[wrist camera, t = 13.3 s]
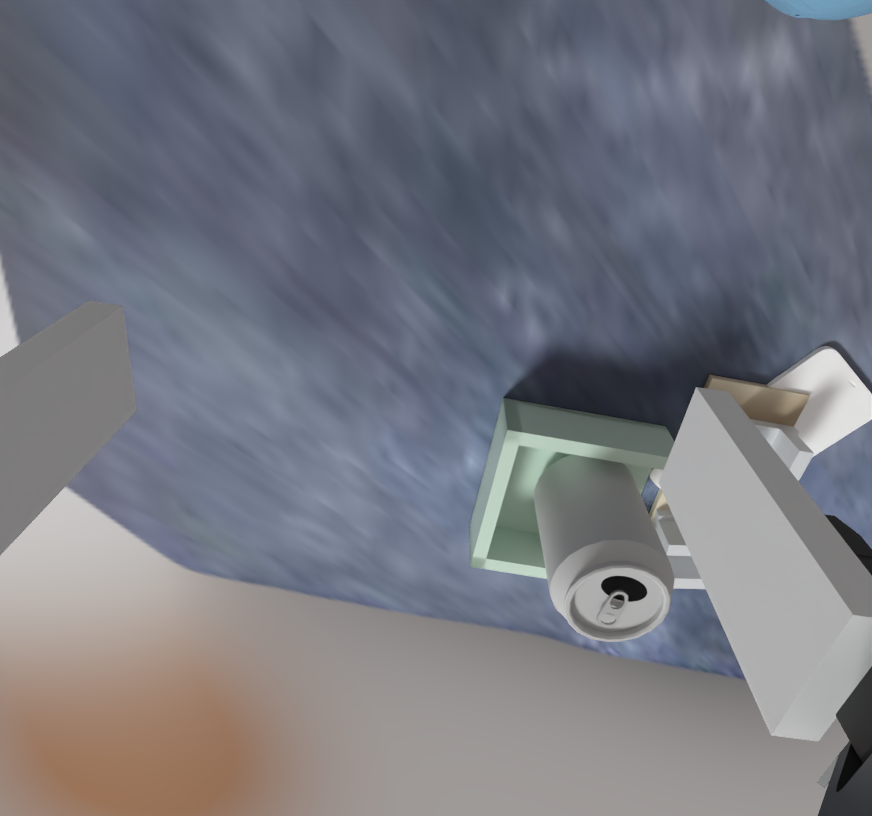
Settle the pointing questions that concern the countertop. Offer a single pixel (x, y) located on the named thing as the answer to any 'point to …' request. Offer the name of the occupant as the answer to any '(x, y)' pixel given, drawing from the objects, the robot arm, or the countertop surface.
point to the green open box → (528, 459)
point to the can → (601, 549)
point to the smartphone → (822, 399)
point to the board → (752, 409)
